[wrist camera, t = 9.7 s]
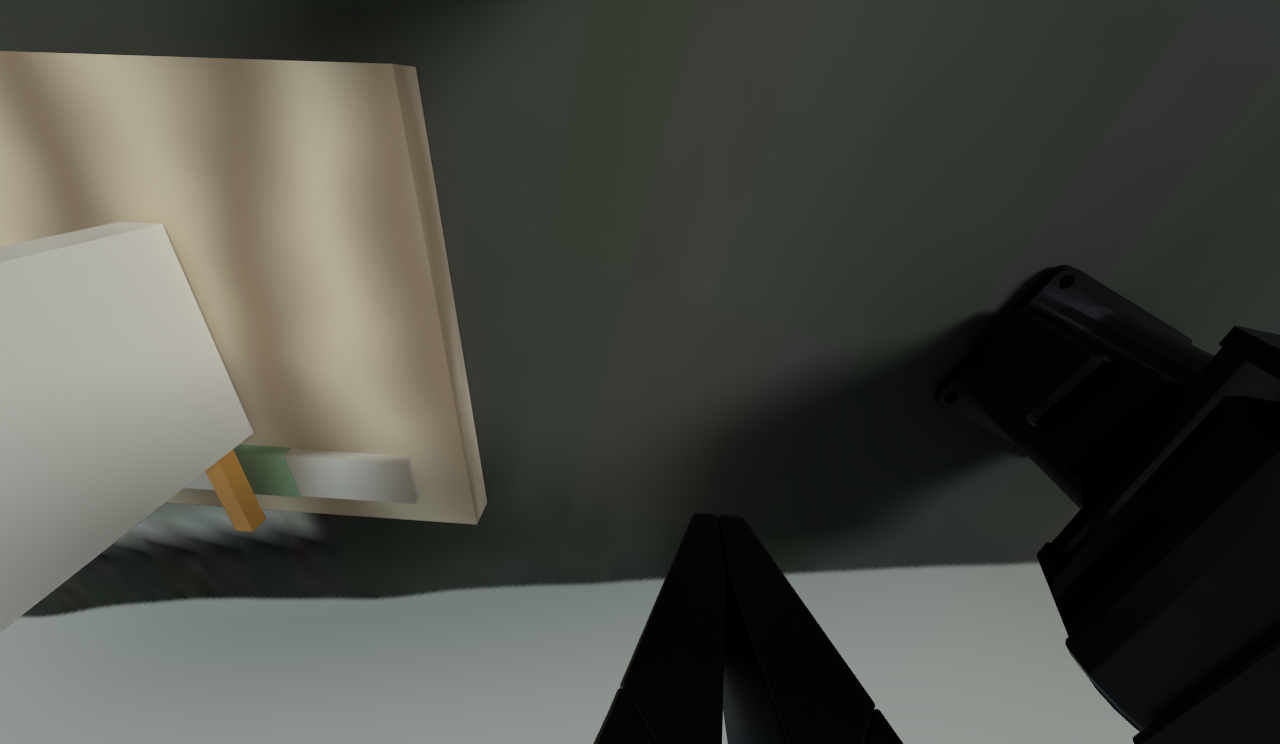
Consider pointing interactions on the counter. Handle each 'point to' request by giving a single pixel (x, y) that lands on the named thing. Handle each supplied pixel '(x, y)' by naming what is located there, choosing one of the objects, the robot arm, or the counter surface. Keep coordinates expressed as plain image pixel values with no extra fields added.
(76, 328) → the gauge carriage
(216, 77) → the gauge frame
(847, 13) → the counter surface
